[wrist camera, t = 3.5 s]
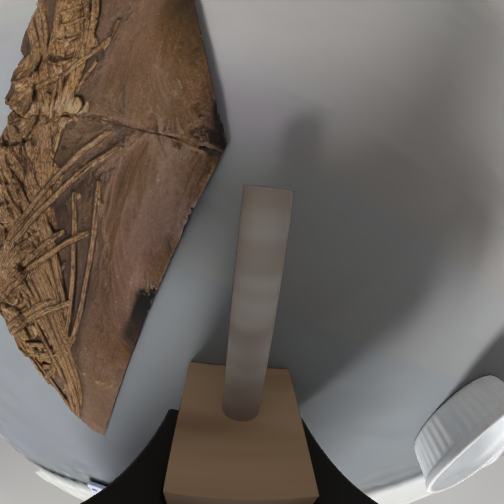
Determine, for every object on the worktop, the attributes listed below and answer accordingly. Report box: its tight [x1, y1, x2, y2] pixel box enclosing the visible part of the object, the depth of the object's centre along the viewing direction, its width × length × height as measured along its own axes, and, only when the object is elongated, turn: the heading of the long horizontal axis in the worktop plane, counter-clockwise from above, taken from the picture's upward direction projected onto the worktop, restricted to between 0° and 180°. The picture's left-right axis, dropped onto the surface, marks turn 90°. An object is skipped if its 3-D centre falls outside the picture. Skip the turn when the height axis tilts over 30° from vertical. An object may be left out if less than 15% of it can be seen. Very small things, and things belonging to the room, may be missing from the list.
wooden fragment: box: [0, 0, 227, 435], centre depth 9 cm, size 26×11×1 cm, turn 166°
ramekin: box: [415, 375, 504, 493], centre depth 12 cm, size 9×9×4 cm
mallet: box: [163, 185, 319, 504], centre depth 8 cm, size 12×4×6 cm, turn 174°
